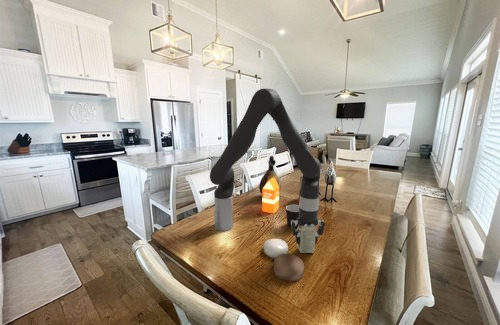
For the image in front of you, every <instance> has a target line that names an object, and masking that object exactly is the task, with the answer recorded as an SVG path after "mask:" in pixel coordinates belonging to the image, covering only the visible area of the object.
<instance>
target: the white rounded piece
mask: <svg viewBox="0 0 500 325" xmlns="http://www.w3.org/2000/svg"><path fill="white" fill-rule="evenodd" d="M288 246H289V245H288V243H287V242H286V241H284V240H283V239H280V238H270V239H267V240H266V241H265V242H264V243H263V251H264V254H265V255H266V256H268V257H269V258H272V259H275V258H276V257H277V256H279V255H281V254H288V251H289V249H288Z"/></svg>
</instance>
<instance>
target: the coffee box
mask: <svg viewBox="0 0 500 325" xmlns="http://www.w3.org/2000/svg"><path fill="white" fill-rule="evenodd" d="M302 181H303V175H302V176H299V192H298V193H299V194H298V196H299V197H298V198H299V199H300V195H301V184H302Z"/></svg>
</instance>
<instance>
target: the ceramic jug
mask: <svg viewBox="0 0 500 325" xmlns="http://www.w3.org/2000/svg"><path fill="white" fill-rule="evenodd" d="M274 158H275V157H274V155H270V156H269V158H268V169H267V170H266V172H265V173H264V174H263V176H262V177H261V179H260V181H259V184H258V185H259V186H258V187H259V192H260V194H261V195H262V191H263V188H264V186H265V185H266V184H267V182H268V181H269V180H270V179H272V178H273V177H274V178H275V180H276V182H277V183H278V185H279V194H280V193H281V190H282V183H281V180H280V177H279V176H278V174H277V173H276V171H275V169H274V166H275V165H276V159H274Z"/></svg>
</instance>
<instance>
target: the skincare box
mask: <svg viewBox="0 0 500 325" xmlns="http://www.w3.org/2000/svg"><path fill="white" fill-rule="evenodd" d="M316 226H317V225H316ZM316 226H315V225H314V226H313V227H311V225H307V227H303V226H300V225H299V228H300V230H301V232H300V244H297V249H298V251H299V253H300V254H307V253H309V254H310V253H312V254H313V253H315V251H316V250H315V248H316V247H315V246H316V244H315V233H316V231H317V227H316Z"/></svg>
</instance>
